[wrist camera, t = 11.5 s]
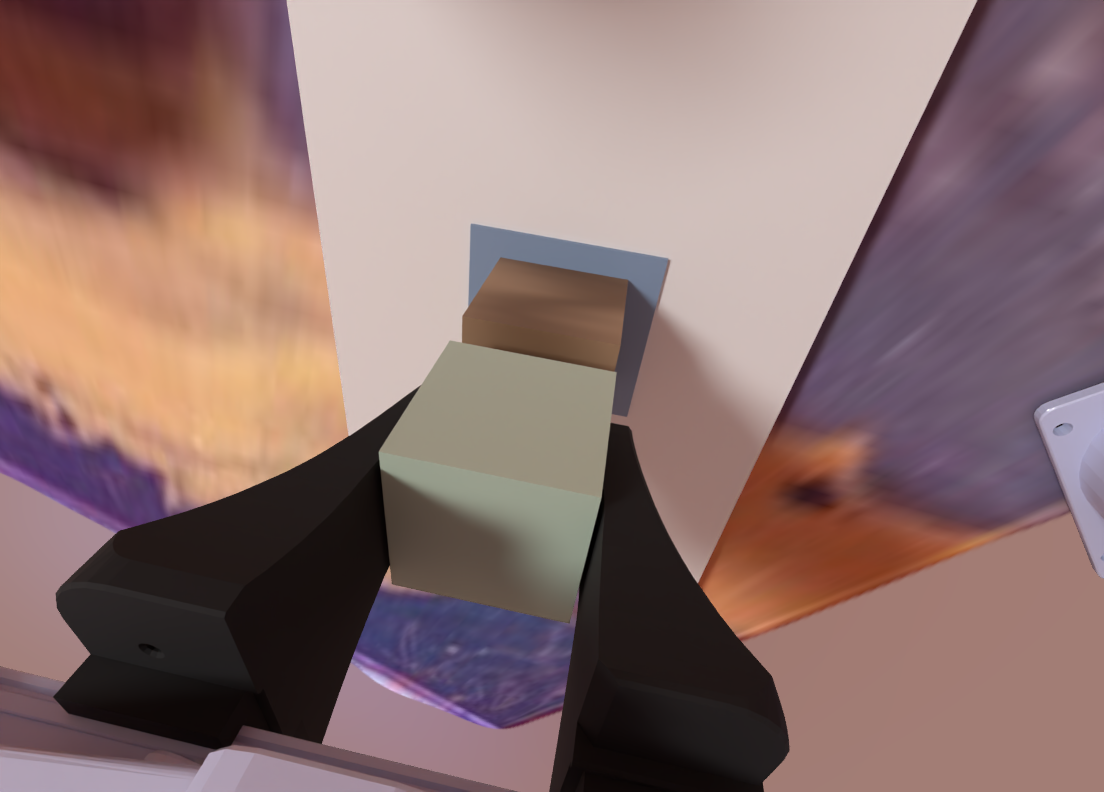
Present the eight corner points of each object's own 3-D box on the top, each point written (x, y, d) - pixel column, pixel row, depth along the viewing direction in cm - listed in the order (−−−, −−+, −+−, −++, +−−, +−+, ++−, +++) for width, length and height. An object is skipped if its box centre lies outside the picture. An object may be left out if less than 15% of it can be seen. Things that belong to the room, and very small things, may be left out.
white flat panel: (1056, -207, 10) (1087, -224, 10) (688, 585, 26) (689, 602, 25) (265, -302, 11) (237, -324, 10) (369, 517, 27) (361, 532, 26)
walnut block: (628, 279, 16) (620, 345, 13) (605, 385, 19) (594, 463, 15) (500, 257, 17) (462, 316, 13) (494, 364, 19) (460, 436, 16)
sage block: (616, 372, 12) (601, 497, 9) (589, 491, 15) (569, 622, 12) (449, 340, 13) (378, 452, 9) (449, 462, 15) (391, 584, 12)
